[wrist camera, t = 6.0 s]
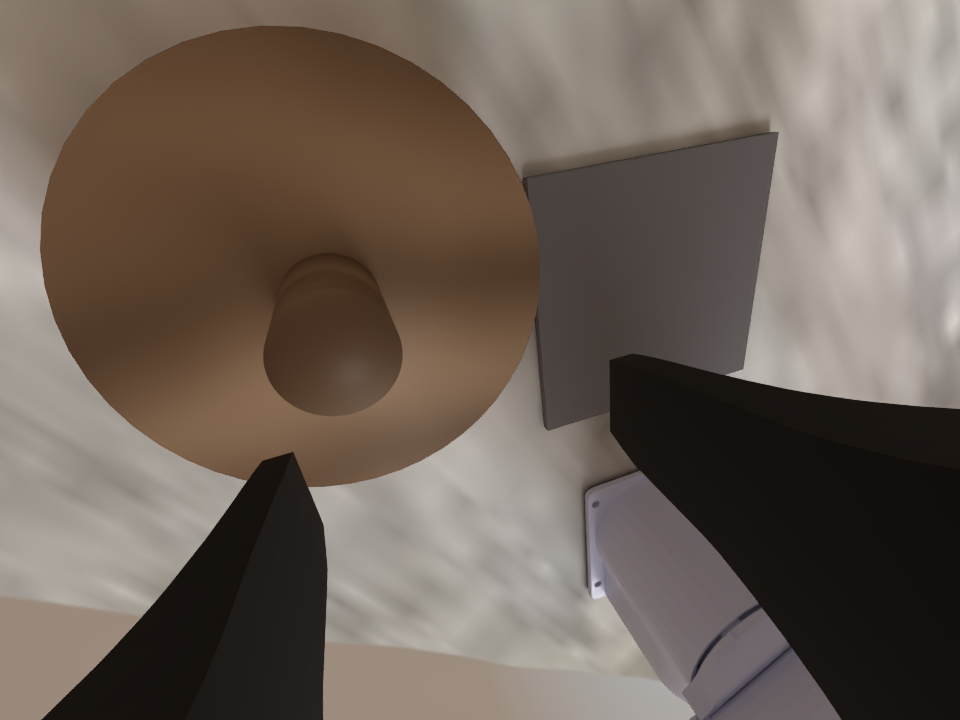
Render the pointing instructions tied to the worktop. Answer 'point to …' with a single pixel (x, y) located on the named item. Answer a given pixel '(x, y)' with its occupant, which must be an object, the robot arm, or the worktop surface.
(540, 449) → the worktop surface
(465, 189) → the lid
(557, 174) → the mat
